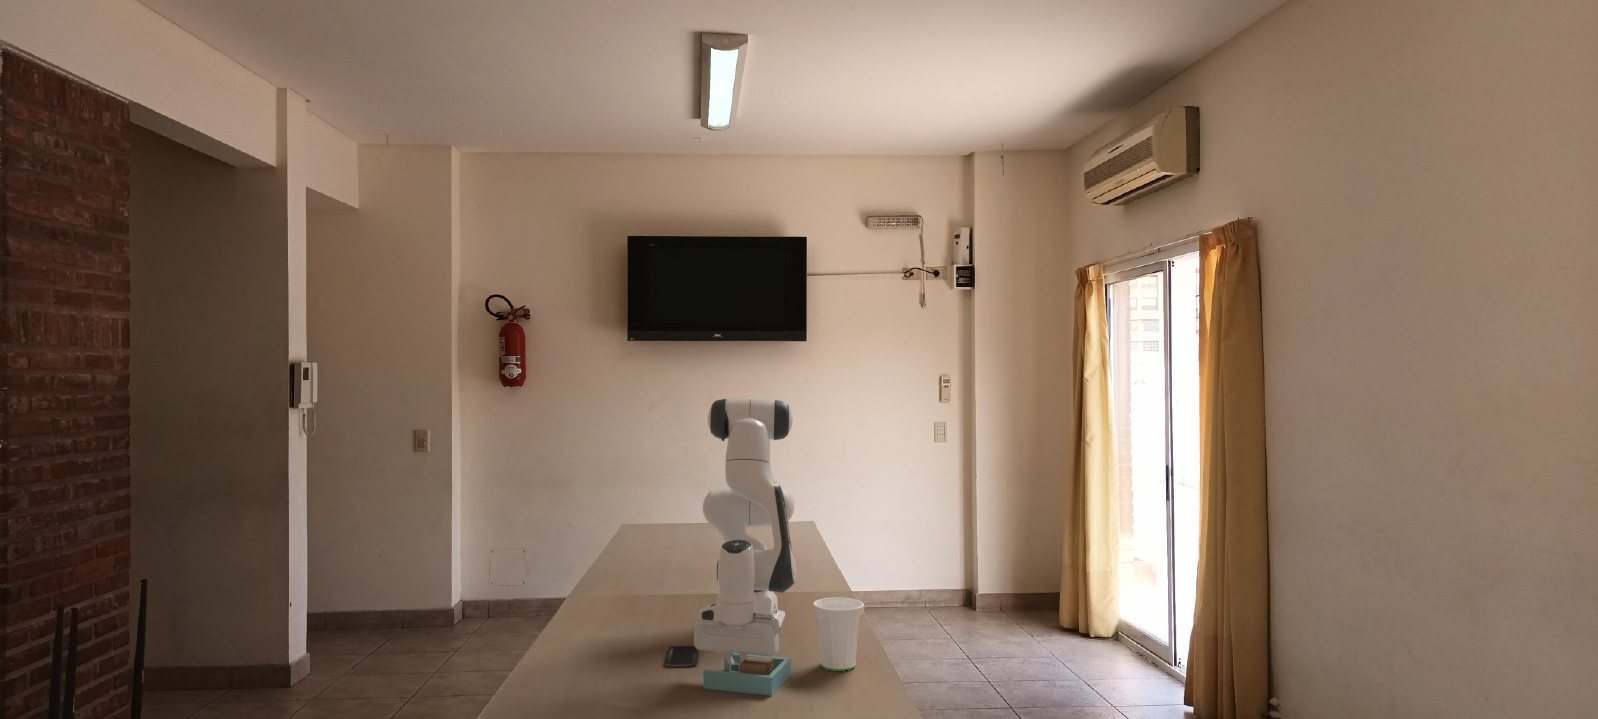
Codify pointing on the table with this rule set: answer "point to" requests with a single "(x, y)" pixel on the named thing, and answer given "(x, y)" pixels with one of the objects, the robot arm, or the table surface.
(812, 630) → the table surface
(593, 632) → the table surface
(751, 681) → the box
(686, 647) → the phone
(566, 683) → the table surface
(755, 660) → the walnut block
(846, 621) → the cup
